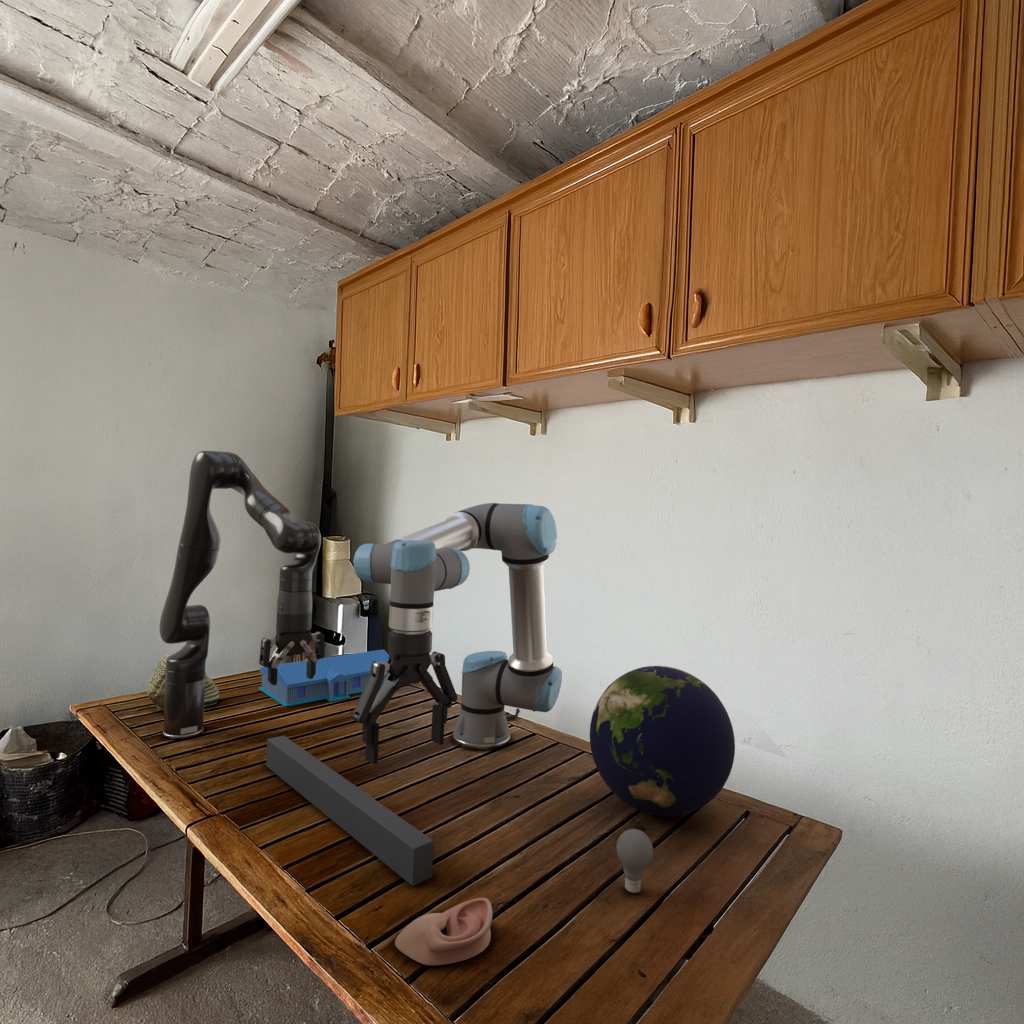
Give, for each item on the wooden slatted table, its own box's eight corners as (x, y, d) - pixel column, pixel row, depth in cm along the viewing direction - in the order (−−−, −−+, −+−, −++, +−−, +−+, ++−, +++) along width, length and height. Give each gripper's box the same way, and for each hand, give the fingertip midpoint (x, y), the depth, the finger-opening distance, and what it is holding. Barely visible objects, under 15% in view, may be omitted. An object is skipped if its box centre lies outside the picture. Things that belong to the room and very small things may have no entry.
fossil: (144, 707, 182) (145, 655, 182) (212, 696, 194) (213, 647, 194) (151, 716, 175) (153, 662, 175) (221, 703, 188) (223, 653, 188)
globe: (569, 823, 127) (576, 674, 126) (605, 767, 154) (610, 645, 154) (726, 862, 115) (734, 698, 115) (734, 794, 143) (741, 662, 143)
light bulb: (610, 879, 108) (613, 822, 108) (644, 879, 109) (647, 822, 109) (619, 902, 102) (622, 840, 102) (655, 901, 103) (658, 840, 103)
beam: (265, 765, 148) (266, 739, 148) (282, 761, 150) (283, 735, 150) (412, 886, 104) (413, 848, 104) (432, 877, 107) (433, 840, 107)
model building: (289, 709, 186) (291, 675, 185) (258, 688, 204) (259, 657, 204) (403, 687, 212) (405, 657, 212) (366, 670, 230) (368, 643, 230)
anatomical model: (387, 929, 88) (416, 881, 99) (385, 957, 88) (415, 906, 99) (479, 947, 85) (498, 895, 96) (478, 976, 85) (497, 921, 96)
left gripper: (316, 604, 151) (313, 672, 151) (256, 610, 141) (253, 682, 141) (331, 609, 145) (328, 680, 145) (270, 615, 135) (267, 690, 136)
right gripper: (357, 642, 98) (352, 778, 99) (479, 626, 116) (474, 741, 116) (334, 634, 104) (329, 762, 104) (453, 619, 121) (449, 729, 121)
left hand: (291, 681), depth 143 cm, fingers open, 8 cm apart
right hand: (405, 751), depth 110 cm, fingers open, 13 cm apart
